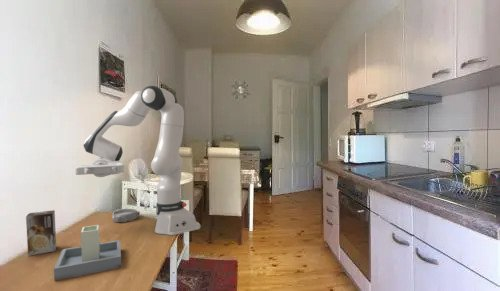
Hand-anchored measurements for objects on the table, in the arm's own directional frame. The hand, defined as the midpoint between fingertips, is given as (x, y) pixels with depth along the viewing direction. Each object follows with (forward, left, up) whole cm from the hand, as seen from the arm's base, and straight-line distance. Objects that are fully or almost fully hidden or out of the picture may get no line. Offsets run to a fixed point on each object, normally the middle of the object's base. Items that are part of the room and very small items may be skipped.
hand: (100, 170), depth 126 cm
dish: (-11, -32, -32) cm, 47 cm away
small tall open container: (+3, +24, -31) cm, 39 cm away
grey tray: (+3, +24, -32) cm, 40 cm away
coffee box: (+22, +1, -32) cm, 39 cm away
